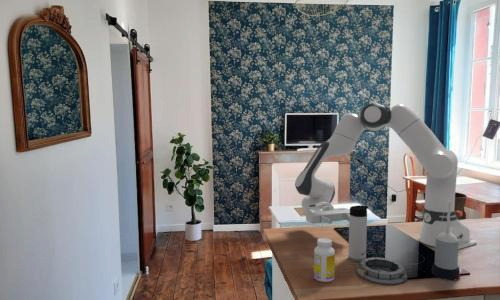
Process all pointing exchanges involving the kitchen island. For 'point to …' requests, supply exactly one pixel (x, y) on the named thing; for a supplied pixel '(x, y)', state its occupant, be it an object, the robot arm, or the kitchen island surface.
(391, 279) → the collar
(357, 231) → the travel mug
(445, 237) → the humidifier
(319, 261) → the supplement bottle
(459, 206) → the plant pot
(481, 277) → the kitchen island surface
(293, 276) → the kitchen island surface
